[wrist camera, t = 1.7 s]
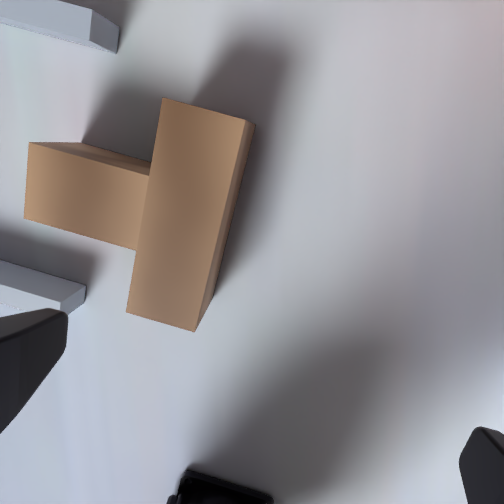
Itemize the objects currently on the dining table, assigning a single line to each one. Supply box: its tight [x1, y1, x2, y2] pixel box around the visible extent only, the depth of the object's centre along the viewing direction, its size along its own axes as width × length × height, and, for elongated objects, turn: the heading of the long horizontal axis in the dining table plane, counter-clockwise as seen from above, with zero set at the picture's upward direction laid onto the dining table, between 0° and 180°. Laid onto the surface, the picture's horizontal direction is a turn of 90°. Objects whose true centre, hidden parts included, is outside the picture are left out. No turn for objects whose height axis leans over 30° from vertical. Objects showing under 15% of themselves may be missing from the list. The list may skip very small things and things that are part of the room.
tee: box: [24, 98, 255, 332], centre depth 18 cm, size 9×10×4 cm
